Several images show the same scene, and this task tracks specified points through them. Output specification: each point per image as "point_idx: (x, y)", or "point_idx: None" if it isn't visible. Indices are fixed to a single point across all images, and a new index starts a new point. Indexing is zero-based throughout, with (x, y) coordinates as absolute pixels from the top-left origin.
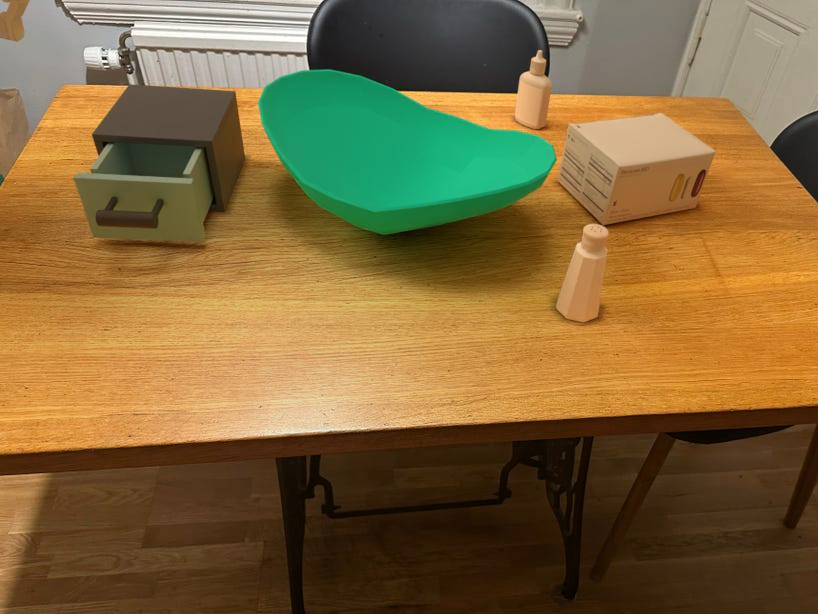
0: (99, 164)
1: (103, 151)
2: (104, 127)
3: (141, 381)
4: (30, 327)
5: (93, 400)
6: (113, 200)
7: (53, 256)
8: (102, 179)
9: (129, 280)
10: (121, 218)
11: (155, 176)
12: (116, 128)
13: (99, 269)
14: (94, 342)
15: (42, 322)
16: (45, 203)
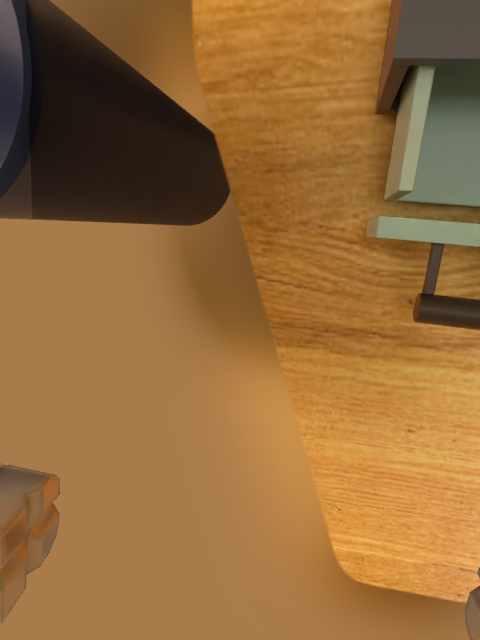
0: (416, 170)
1: (416, 106)
2: (419, 14)
3: (464, 524)
4: (318, 414)
5: (412, 540)
6: (438, 256)
7: (310, 265)
8: (434, 242)
9: (428, 330)
10: (463, 326)
11: None
12: (450, 15)
13: (380, 300)
14: (399, 451)
15: (329, 406)
16: (262, 109)
